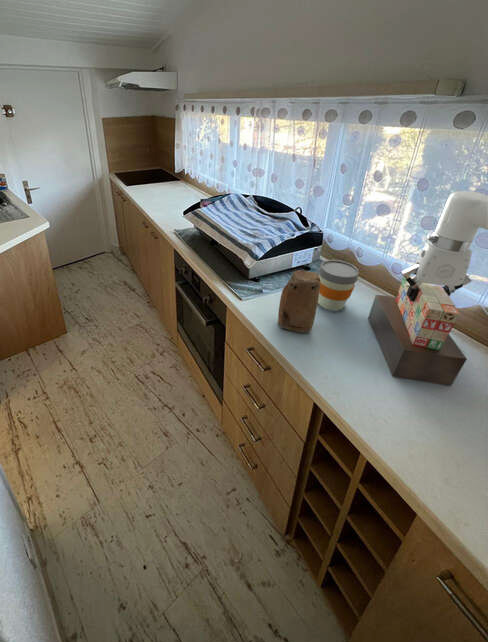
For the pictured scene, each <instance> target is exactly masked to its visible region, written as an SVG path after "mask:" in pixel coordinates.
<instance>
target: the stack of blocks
mask: <svg viewBox="0 0 488 642" xmlns="http://www.w3.org/2000/svg"><path fill="white" fill-rule="evenodd" d="M410 277H411V279H412V278H413V277H414V276H412V275H410ZM409 285H410V284H409V283H408V282H407V281H406V279H405V278H404V276H403V277H402V280H401V284H400V286H399V289H398V292H397V295H396V297H397V298H396V301H397V303H398V306H399V309H400V312H401V315H402V316H403V319H404V322H405V324H406V327H407V329H408V333H409V336H410V339H411V342H412V344H413V345H416V346H421V347H427V348H431V349H436V350H440V349H441V348H442V346H443V344H444V342H445V340H446V338H447V336H448V334H449V335H450V333H451V332H452V329H453V328H454V326H455V323H456V322H457V320H458V318H459V317H460V314H461V313H460V312H459V310H458V309H457V307H456V304H455V303H454V302H453V300H452V299H451V297H450V296H448V294H447V293H446V292H445V290H444V289H443V287H444V286H443V285H436V284H427V283H422V284H421V285H420V286H419V287H418V290H419V291H418V293H417V296H416V298H415V301H410V299H409V298H408V296H407V290H408V288H409Z"/></svg>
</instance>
